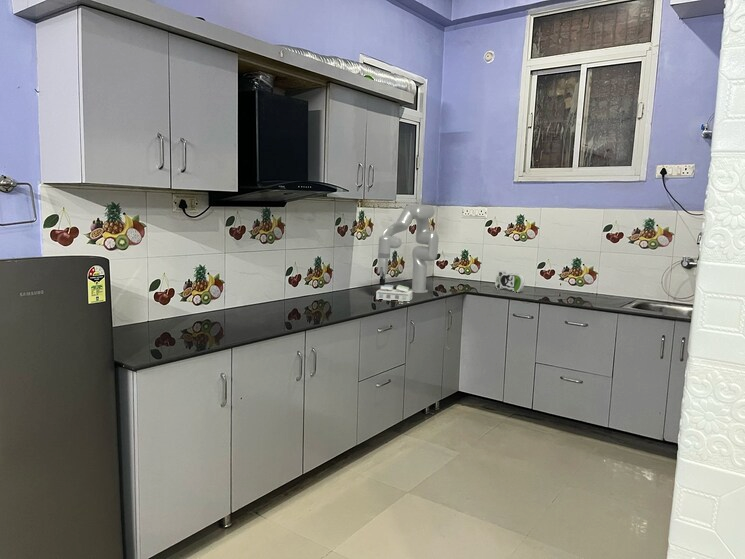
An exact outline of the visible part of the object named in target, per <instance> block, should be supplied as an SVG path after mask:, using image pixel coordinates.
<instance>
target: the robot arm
mask: <svg viewBox="0 0 745 559" xmlns="http://www.w3.org/2000/svg"><path fill="white" fill-rule="evenodd" d="M435 212H436V210H435V207H434V206H433V205H430V204H419V203H418V204H413V205H407V206H405V207H404V209H403V210H402V212H401V213H400V215H399V217H398V219H397V221H396V222H394V223H392V224H390V225H389V226H388V227H387V228H386V229H385V230H384V231H383V233H382V235H381V236H379V238H378V247H377V248H378V250H377V251H378V252H377V259H378V262H377V272H376V273H377V275H379V283H378V284H379V285H378V286H382V285H386V275H387V274H388V270H389V269H388V268H389V260H390V258H391V249H399V248H400V247H401V246H402V239H401V238H400V237H399V236H394V235H396V234H398V233H401V232H404V231H406V230H408V229H409V227H410V225H411V223H412V222H413V221H414V220H415V221H416V227H415V228H416V231H415V242H416V243H417V244H419V245H417V246H415V247H413V249H412V252H411V253H412V254H411V255H412V282H411V288H409V290H408V291H413V293H416V294H426V293H428V289H426V288H427V287H426V286H427V273H428V272H427V271H428V267H427V266H428V265H427V262H435V260H436V259H437V257H438V251H439V239H440V238H439V234H438V233H437V231H434V230H430V222H429V219H431V218H433V217H434V215H435ZM424 245H427V246H424Z"/></svg>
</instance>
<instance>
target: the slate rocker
mask: <svg viewBox="0 0 745 559" xmlns="http://www.w3.org/2000/svg"><path fill="white" fill-rule="evenodd" d="M380 288H381V289H388V290H392V289H394V285H392V284H385V285H380Z"/></svg>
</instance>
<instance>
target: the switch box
mask: <svg viewBox="0 0 745 559" xmlns="http://www.w3.org/2000/svg"><path fill="white" fill-rule="evenodd" d="M375 292H376V293H375V294H376V295H375V300H379V299H383V300H382V301H391V300H398V301H397V302H403V301H410V300H413V293H414V292H413V291H409V290H408V292H405V291H402V290H398V289H394V288H393V289H392V290H388V289H381V287H380V288H379V289H378V290H377V291H375ZM410 302H411V301H410Z"/></svg>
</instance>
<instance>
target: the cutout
mask: <svg viewBox="0 0 745 559" xmlns="http://www.w3.org/2000/svg"><path fill="white" fill-rule="evenodd" d="M494 284H495V289H496V288H501V289H502V288H504V289H507V290H509V291H510V290H512V292H513V291H517V292H519V293H520V292H522V290H523V289H524V287H525V278H524V276H523V275H522V274H520V273H513V272H512V273H510V272H509V273H507V272H506V271H505V270H499V271H498V273H497V274H496V276H495V281H494Z"/></svg>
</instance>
